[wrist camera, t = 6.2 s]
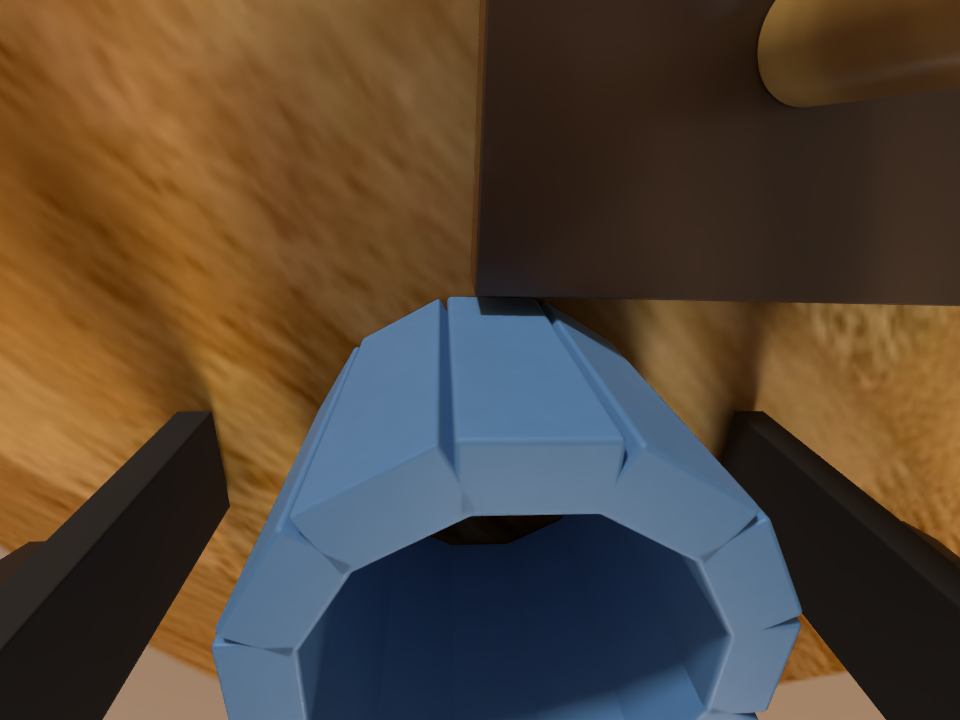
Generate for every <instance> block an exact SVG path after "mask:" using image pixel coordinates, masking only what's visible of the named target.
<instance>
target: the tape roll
mask: <svg viewBox="0 0 960 720" xmlns="http://www.w3.org/2000/svg"><path fill="white" fill-rule="evenodd" d="M562 514H564V516H563V517H562V518H561V519H560V520H559V521H557V522H555V523H552V524H550V525H548V526H546V527H544V528H541V529H539V530H537V531H535V532H533V533H531V534H528V535H526V536H524V537H522V538H520V539H517V540H515V541H513V542H511V543H509V544H480V545H450V544H447V543H445V542H443V541H440V540H438V539H436V538H433V537H431V536H430V535H432V534H434V533H436V532H438V531H440V530H442V529H444V528H447V527H449V526H451V525H453V524H455V523H457V522H459V521H461V520H464V519H466V518H468V517H470V516H503V515H562ZM801 613H802V608H801V605H800V602H799V600H798V597H797V594H796V591H795V588H794V585H793V583H792V580H791V577H790V574H789V571H788V568H787V566H786V563H785V560H784V557H783V554H782V551H781V549H780V546H779V543H778V540H777V537H776V534H775V532H774V529H773V526H772V523H771V520H770V519H769V517H768V516H767V515H766V514H765V513H764V512H763V511H762V510H761V509H760V508H759V506H758V505H757V504H756V503H755V501H754V500H753V499H752V498H751V497H750V496H749V495H748V494H747V493H746V492H745V490H744V489H743V488H742V487H741V486H740V485H739V484H738V483H737V482H736V480H735V479H734V478H733V477H732V476H731V475H730V474H729V473H728V472H727V470H726V469H725V468H724V467H723V466H722V465H721V464H720V463H719V462H718V461H717V459H716V458H715V457H714V456H713V455H712V454H711V453H710V452H709V451H708V449H707V448H706V447H705V446H704V445H703V444H702V443H701V442H700V441H699V439H698V438H697V437H696V436H695V435H694V434H693V433H692V432H691V431H690V429H689V428H688V427H687V426H686V425H685V424H684V423H683V422H682V421H681V420H680V418H679V417H678V416H677V415H676V414H675V413H674V412H673V411H672V410H671V408H670V407H669V406H668V405H667V404H666V403H665V402H664V401H663V400H662V398H661V397H660V396H659V395H658V394H657V393H656V392H655V391H654V390H653V388H652V387H651V386H650V385H649V384H648V383H647V382H646V381H645V380H644V379H643V377H642V376H641V375H640V374H639V373H638V372H637V371H636V370H635V369H634V367H633V366H632V365H631V364H630V363H629V362H628V361H627V360H626V359H625V357H624V356H623V355H622V354H621V353H620V352H619V351H618V350H617V349H616V348H615V346H614V345H613V344H612V343H611V342H610V341H608V340H607V339H605V338H604V337H602V336H600V335H599V334H597V333H596V332H594V331H592V330H591V329H589V328H588V327H586V326H584V325H583V324H581V323H579V322H578V321H576V320H575V319H573V318H571V317H570V316H568V315H567V314H565V313H563V312H562V311H560V310H559V309H557V308H555V307H554V306H552V305H550V304H549V303H546V302H544V303H543V304H542V305H541V307H540V306H539V304H538V303H537V301H536V300H535V299H533V298H487V297H450V298H448V300H447V311H446V310H445V308H444V306H443V304H442V303H441V301H440V300H439V299H437V300H435V301H433V302H431V303H429V304H427V305H426V306H424V307H422V308H420V309H418V310H416V311H414V312H412V313H411V314H409V315H407V316H405V317H403V318H401V319H399V320H398V321H396V322H394V323H392V324H390V325H388V326H386V327H384V328H383V329H381V330H379V331H377V332H375V333H373V334H371V335H370V336H368V337H366V338H364V339H363V341H362V343H361V346H360V347H356V348H354V350H353V352H352V353H351V355H350V357H349V358H348V360H347V362H346V364H345V365H344V367H343V369H342V371H341V372H340V374H339V376H338V378H337V379H336V381H335V383H334V385H333V386H332V388H331V390H330V392H329V393H328V395H327V397H326V399H325V400H324V402H323V404H322V406H321V407H320V409H319V411H318V413H317V415H316V417H315V419H314V421H313V424H312V426H311V428H310V430H309V432H308V434H307V436H306V438H305V440H304V443H303V445H302V447H301V449H300V451H299V453H298V455H297V457H296V459H295V461H294V464H293V466H292V468H291V470H290V472H289V474H288V476H287V478H286V480H285V483H284V485H283V487H282V489H281V491H280V493H279V495H278V497H277V499H276V501H275V504H274V506H273V508H272V510H271V512H270V514H269V516H268V518H267V520H266V523H265V525H264V527H263V529H262V531H261V533H260V535H259V537H258V539H257V541H256V544H255V546H254V548H253V550H252V552H251V554H250V556H249V558H248V560H247V563H246V565H245V567H244V569H243V571H242V573H241V575H240V577H239V579H238V581H237V584H236V586H235V588H234V590H233V592H232V594H231V596H230V598H229V600H228V603H227V605H226V607H225V609H224V611H223V613H222V615H221V617H220V619H219V621H218V624H217V626H216V634H217V635H216V637H215V640H214V642H213V644H212V653H213V657H214V661H215V665H216V669H217V673H218V678H219V682H220V686H221V690H222V694H223V698H224V702H225V706H226V711H227V714H228V719H229V720H758V718H757V716H756V714H755V712H763V711H765V710H767V709H768V706H769V704H770V701H771V699H772V696H773V694H774V692H775V689H776V687H777V684H778V682H779V680H780V677H781V675H782V672H783V670H784V667H785V665H786V663H787V660H788V658H789V655H790V653H791V650H792V648H793V645H794V643H795V641H796V638H797V636H798V633H799V631H800V628H801V624H800V622H799V620H798V618H797V617H796V616H799V615H800V614H801Z"/></svg>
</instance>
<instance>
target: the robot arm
mask: <svg viewBox="0 0 960 720" xmlns="http://www.w3.org/2000/svg"><path fill="white" fill-rule="evenodd" d="M721 465H722V466H723V467H724V468H725V469H726V470H727V472H728V473H729V474H730V475H731V476H732V477H733V478H734V479H735V480H736V482H737V483H738V484H739V485H740V486H741V487H742V488H743V489H744V490H745V492H746V493H747V494H748V495H749V496H750V497H751V498H752V499H753V500H754V501H755V503H756V504H757V505H758V506H759V508H760V509H761V510H762V511H763V512H764V513H765V514H766V515H767V516H768V517H769V519H770V520H771V523H772V526H773V529H774V532H775V534H776V537H777V540H778V543H779V546H780V549H781V551H782V554H783V557H784V560H785V563H786V566H787V568H788V571H789V574H790V577H791V580H792V583H793V585H794V588H795V591H796V594H797V597H798V600H799V602H800V605H801V608H802V614H803V615H804V616H805V617H806V619H807V620H808V621H809V623H810V624H811V625H812V626H813V628H814V629H815V630H816V631H817V633H818V634H819V635H820V636H821V638H822V639H823V640H824V642H825V643H826V644H827V645H828V647H829V648H830V649H831V650H832V652H833V653H834V654H835V655H836V657H837V658H838V659H839V661H840V662H841V663H842V664H843V666H844V667H845V668H846V669H847V671H848V672H849V673H850V674H851V675H852V677H853V678H854V679H855V681H856V682H857V683H858V685H859V686H860V687H861V688H862V690H863V691H864V692H865V693H866V695H867V696H868V697H869V698H870V700H871V701H872V702H873V704H874V705H875V706H876V707H877V709H878V710H879V711H880V712H881V714H882V715H883V716H884V718H885V719H886V720H960V557H958V556H957V555H956V554H954V553H953V552H952V551H951V550H949V549H948V548H947V547H945V546H944V545H943V544H942V543H940V542H939V541H938V540H936V539H935V538H933V537H931V536H929V535H927V534H926V533H924V532H922V531H920V530H918V529H917V528H915V527H913V526H911V525H909V524H907V523H906V522H904V521H900V520H899V519H898V518H896V517H895V516H894V515H893V514H891V513H890V512H889V511H888V510H886V509H885V508H884V507H883V506H881V505H880V504H879V503H878V502H876V501H875V500H874V499H873V498H871V497H870V496H869V495H868V494H866V493H865V492H864V491H862V490H861V489H860V488H859V487H857V486H856V485H855V484H854V483H852V482H851V481H850V480H849V479H847V478H846V477H845V476H844V475H842V474H841V473H840V472H839V471H837V470H836V469H835V468H834V467H832V466H831V465H830V464H829V463H827V462H826V461H825V460H824V459H822V458H821V457H820V456H818V455H817V454H816V453H815V452H813V451H812V450H811V449H810V448H808V447H807V446H806V445H805V444H803V443H802V442H801V441H800V440H798V439H797V438H796V437H795V436H793V435H792V434H791V433H790V432H788V431H787V430H786V429H785V428H783V427H782V426H781V425H779V424H778V423H777V422H776V421H774V420H773V419H772V418H771V417H769V416H768V415H767V414H766V413H764V412H763V411H735V413H734V416H733V420H732V424H731V427H730V431H729V435H728V438H727V442H726V446H725V449H724V453H723V457H722V460H721ZM229 507H230V504H229V499H228V494H227V488H226V483H225V478H224V473H223V468H222V462H221V457H220V452H219V447H218V441H217V436H216V431H215V426H214V420H213V415H212V412H177V413H176V414H175V415H174V416H173V417H172V418H171V419H170V420H169V421H168V422H167V423H166V424H165V425H164V426H163V427H162V428H161V429H160V430H159V431H158V432H157V433H156V434H155V435H154V436H152V437H151V438H150V439H149V440H148V441H147V442H146V443H145V444H144V445H143V446H142V447H141V448H140V449H139V450H138V451H137V452H136V453H135V454H134V455H133V456H132V457H131V458H130V459H129V460H128V461H127V462H126V463H125V464H124V465H123V466H122V467H121V468H120V469H119V470H118V471H117V472H116V473H115V474H114V475H113V476H112V477H111V478H110V479H109V480H108V481H107V482H106V483H105V484H104V485H103V486H102V487H101V488H100V489H99V490H98V491H97V492H96V493H94V494H93V495H92V496H91V497H90V498H89V499H88V500H87V501H86V502H85V503H84V504H83V505H82V506H81V507H80V508H79V509H78V510H77V511H76V512H75V513H74V514H73V515H72V516H71V517H70V518H69V519H68V520H67V521H66V522H65V523H64V524H63V525H62V526H61V527H60V528H59V529H58V530H57V531H56V532H55V533H54V534H53V535H52V536H51V537H50V538H49V539H48V540H47V541H43V542H28V543H27V544H25V545H23V546H22V547H20V548H19V549H17V550H15V551H14V552H12V553H10V554H9V555H7V556H5V557H4V558H2V559H1V560H0V720H102V719H103V718H104V716H105V715H106V713H107V711H108V709H109V708H110V706H111V704H112V703H113V701H114V700H115V698H116V696H117V694H118V693H119V691H120V689H121V688H122V686H123V684H124V683H125V681H126V679H127V678H128V676H129V674H130V673H131V671H132V669H133V668H134V666H135V664H136V662H137V661H138V659H139V658H140V656H141V654H142V652H143V651H144V649H145V647H146V646H147V644H148V642H149V641H150V639H151V637H152V636H153V634H154V632H155V631H156V629H157V627H158V626H159V624H160V622H161V621H162V619H163V617H164V616H165V614H166V612H167V611H168V609H169V607H170V606H171V604H172V602H173V601H174V599H175V597H176V596H177V594H178V592H179V590H180V589H181V587H182V585H183V584H184V582H185V580H186V579H187V577H188V575H189V574H190V572H191V570H192V569H193V567H194V565H195V564H196V562H197V560H198V559H199V557H200V555H201V554H202V552H203V550H204V549H205V547H206V545H207V544H208V542H209V540H210V538H211V537H212V535H213V533H214V532H215V530H216V528H217V527H218V525H219V523H220V522H221V520H222V518H223V517H224V515H225V513H226V512H227V510H228V508H229Z"/></svg>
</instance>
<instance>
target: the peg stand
mask: <svg viewBox="0 0 960 720" xmlns="http://www.w3.org/2000/svg"><path fill="white" fill-rule="evenodd" d="M471 281H472V285H473V289H474V293H475V295H476V296H502V297H550V298H598V299H646V300H694V301H742V302H790V303H839V304H887V305H935V306H960V0H480V16H479V45H478V74H477V103H476V132H475V161H474V190H473V220H472V249H471Z"/></svg>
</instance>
